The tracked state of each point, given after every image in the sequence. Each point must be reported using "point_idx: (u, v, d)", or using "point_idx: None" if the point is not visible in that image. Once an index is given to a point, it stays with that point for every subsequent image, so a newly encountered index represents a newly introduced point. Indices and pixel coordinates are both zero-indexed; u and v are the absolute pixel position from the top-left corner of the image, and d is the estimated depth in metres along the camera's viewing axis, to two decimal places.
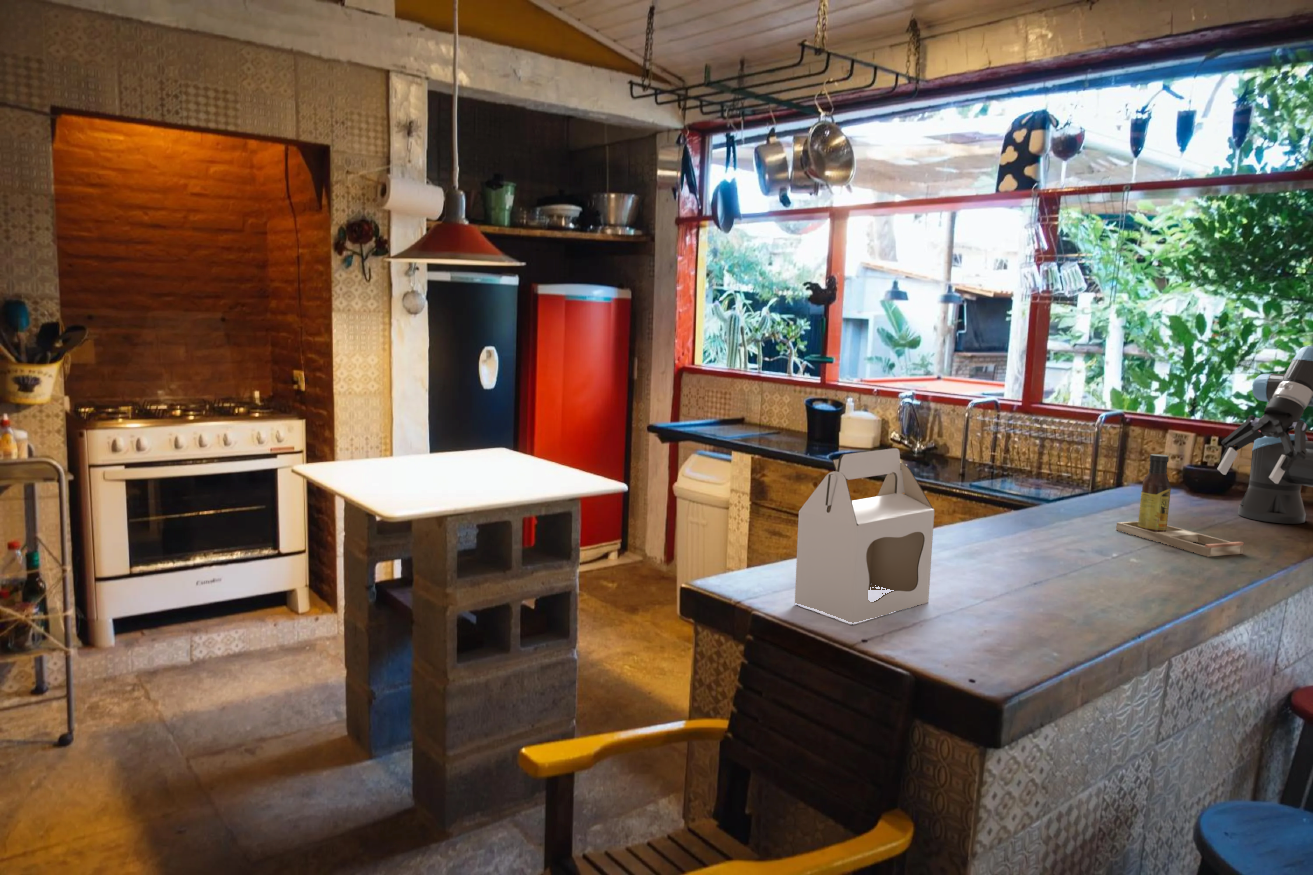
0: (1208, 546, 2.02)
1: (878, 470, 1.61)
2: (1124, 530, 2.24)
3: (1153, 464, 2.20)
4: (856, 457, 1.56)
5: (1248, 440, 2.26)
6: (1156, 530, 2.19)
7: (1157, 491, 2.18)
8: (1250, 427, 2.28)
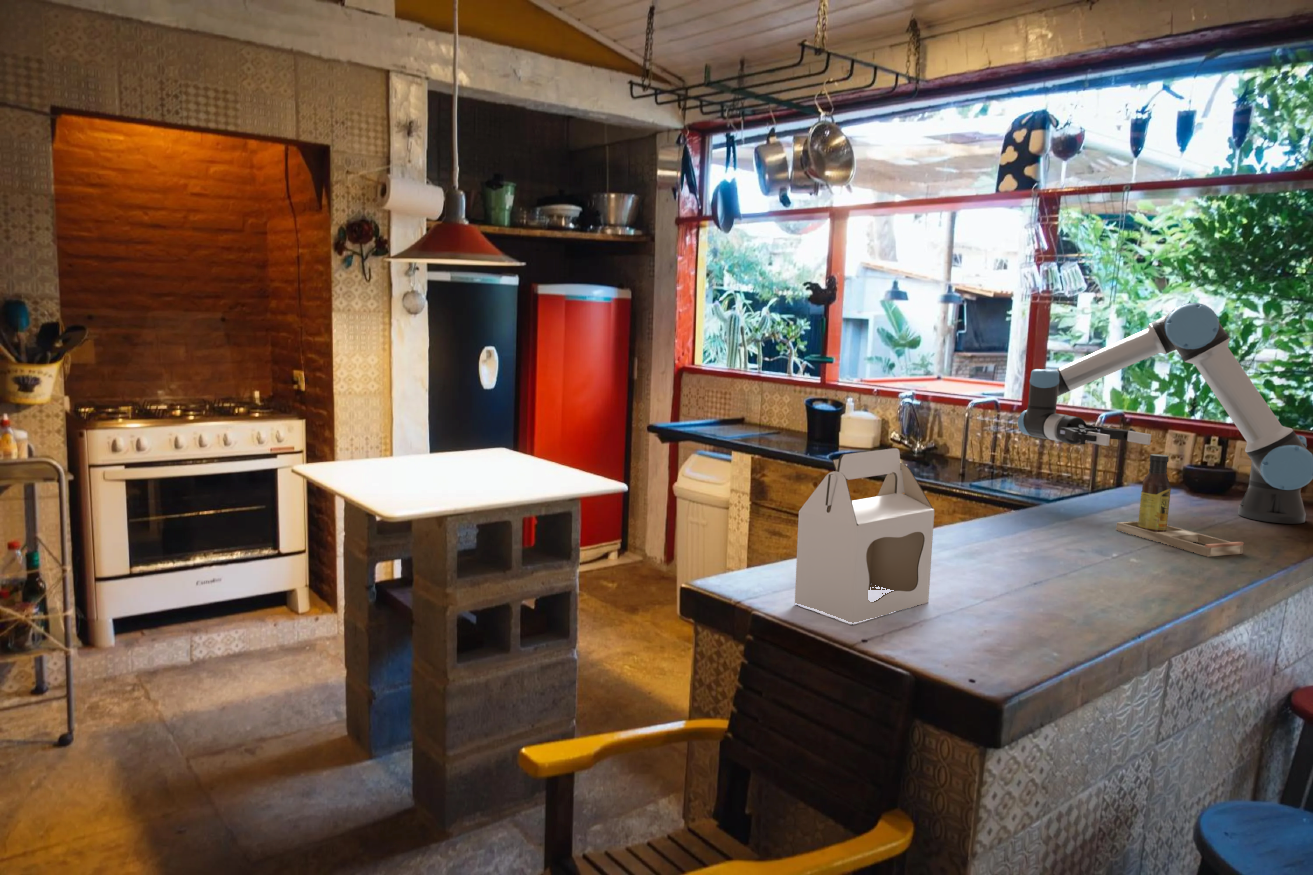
0: (1208, 546, 2.02)
1: (878, 470, 1.61)
2: (1124, 530, 2.24)
3: (1153, 464, 2.20)
4: (856, 457, 1.56)
5: (1112, 433, 2.39)
6: (1156, 530, 2.19)
7: (1157, 491, 2.18)
8: None
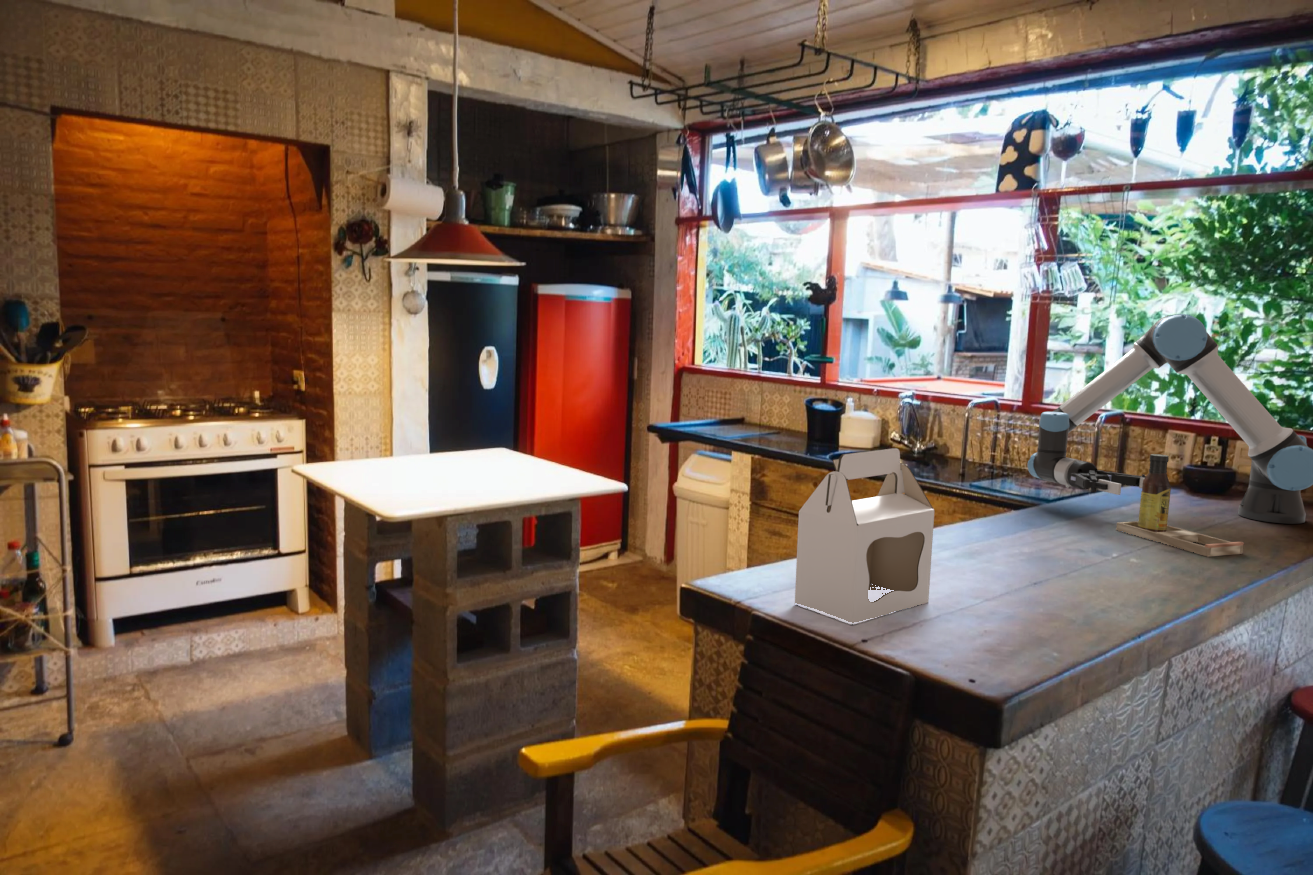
0: (1208, 546, 2.02)
1: (878, 470, 1.61)
2: (1124, 530, 2.24)
3: (1153, 464, 2.20)
4: (856, 457, 1.56)
5: (1123, 479, 2.35)
6: (1156, 530, 2.19)
7: (1157, 491, 2.18)
8: None
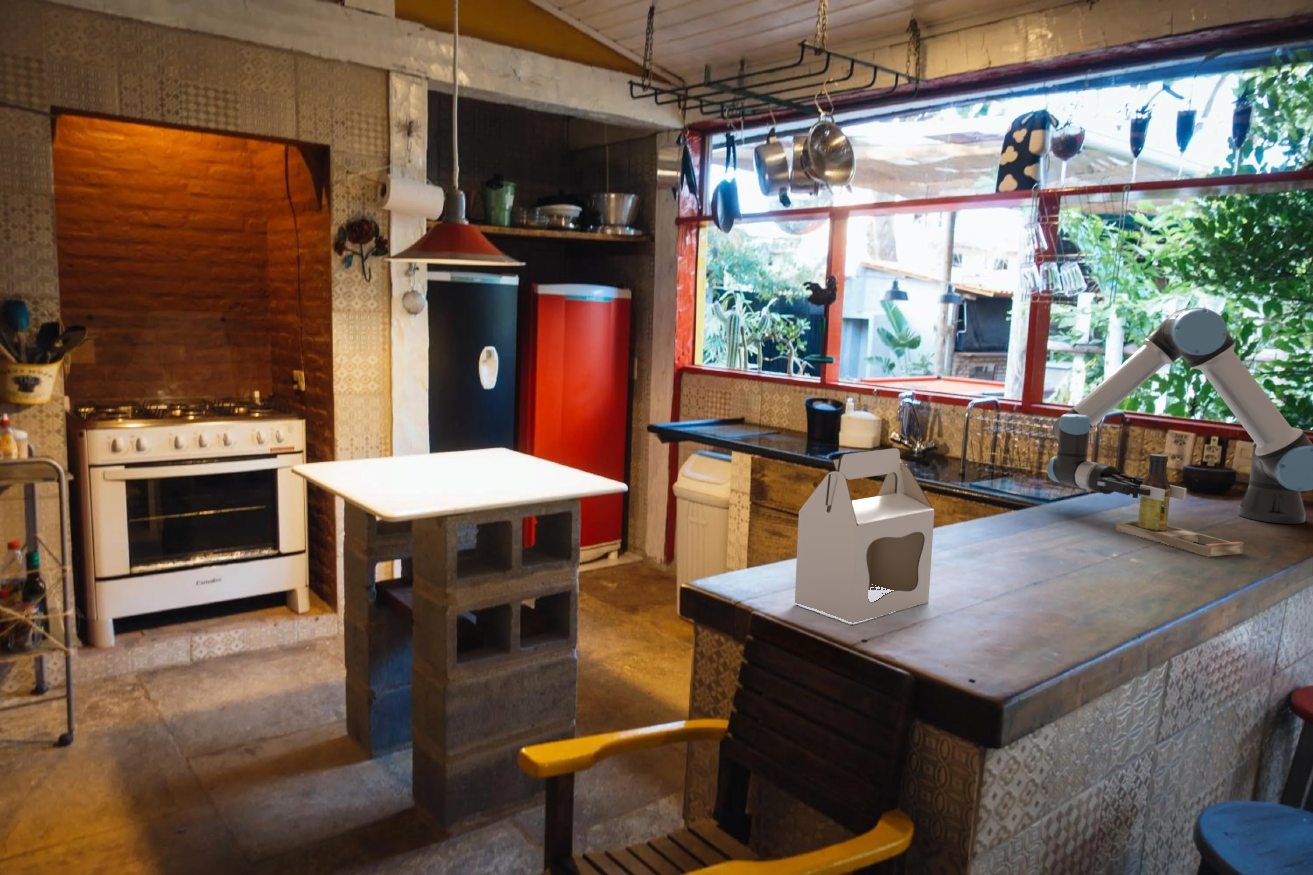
0: (1208, 546, 2.02)
1: (878, 470, 1.61)
2: (1124, 530, 2.24)
3: (1153, 464, 2.19)
4: (856, 457, 1.56)
5: None
6: (1156, 530, 2.19)
7: None
8: None
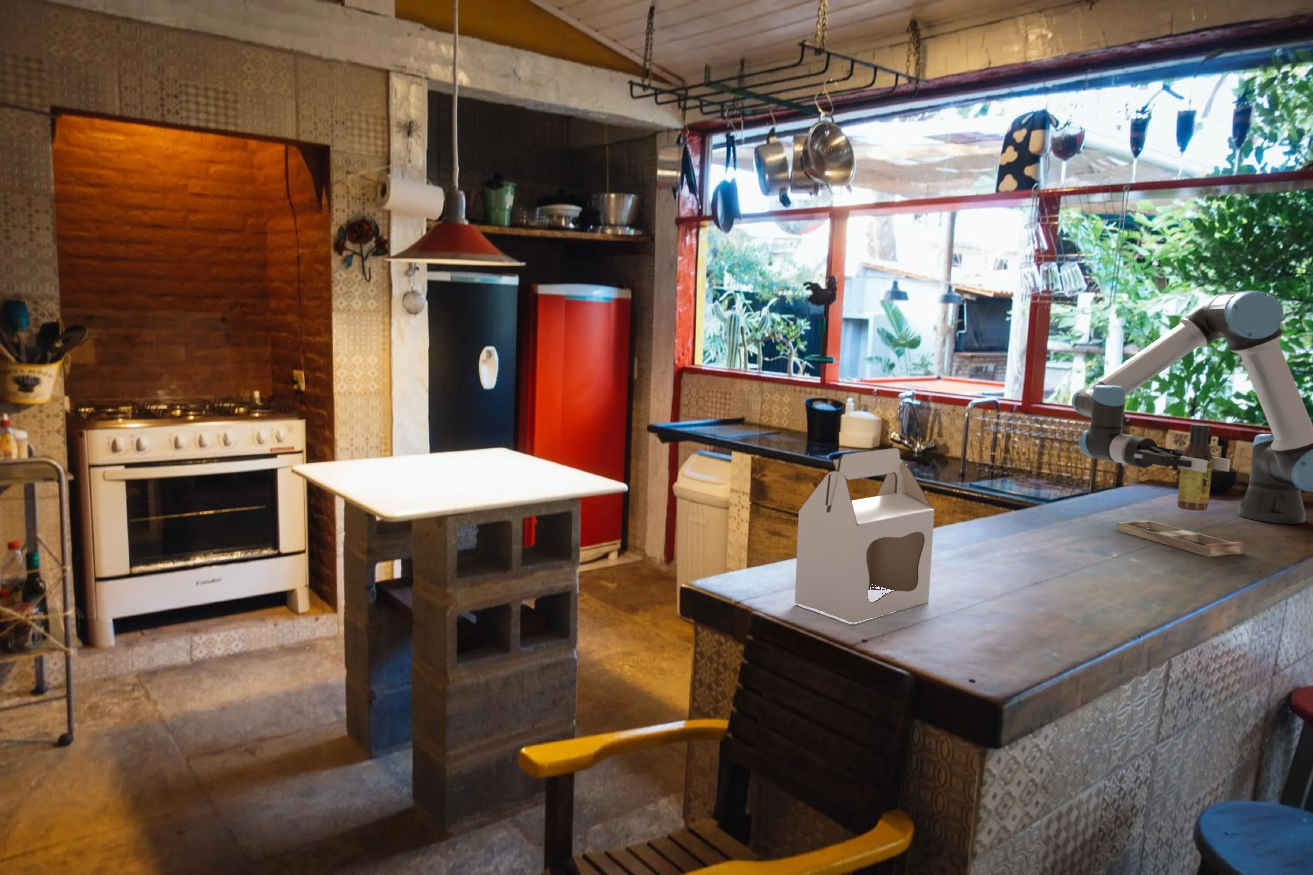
0: (1208, 546, 2.02)
1: (878, 470, 1.61)
2: (1124, 530, 2.24)
3: (1194, 435, 2.08)
4: (856, 457, 1.56)
5: None
6: (1197, 503, 2.07)
7: None
8: None
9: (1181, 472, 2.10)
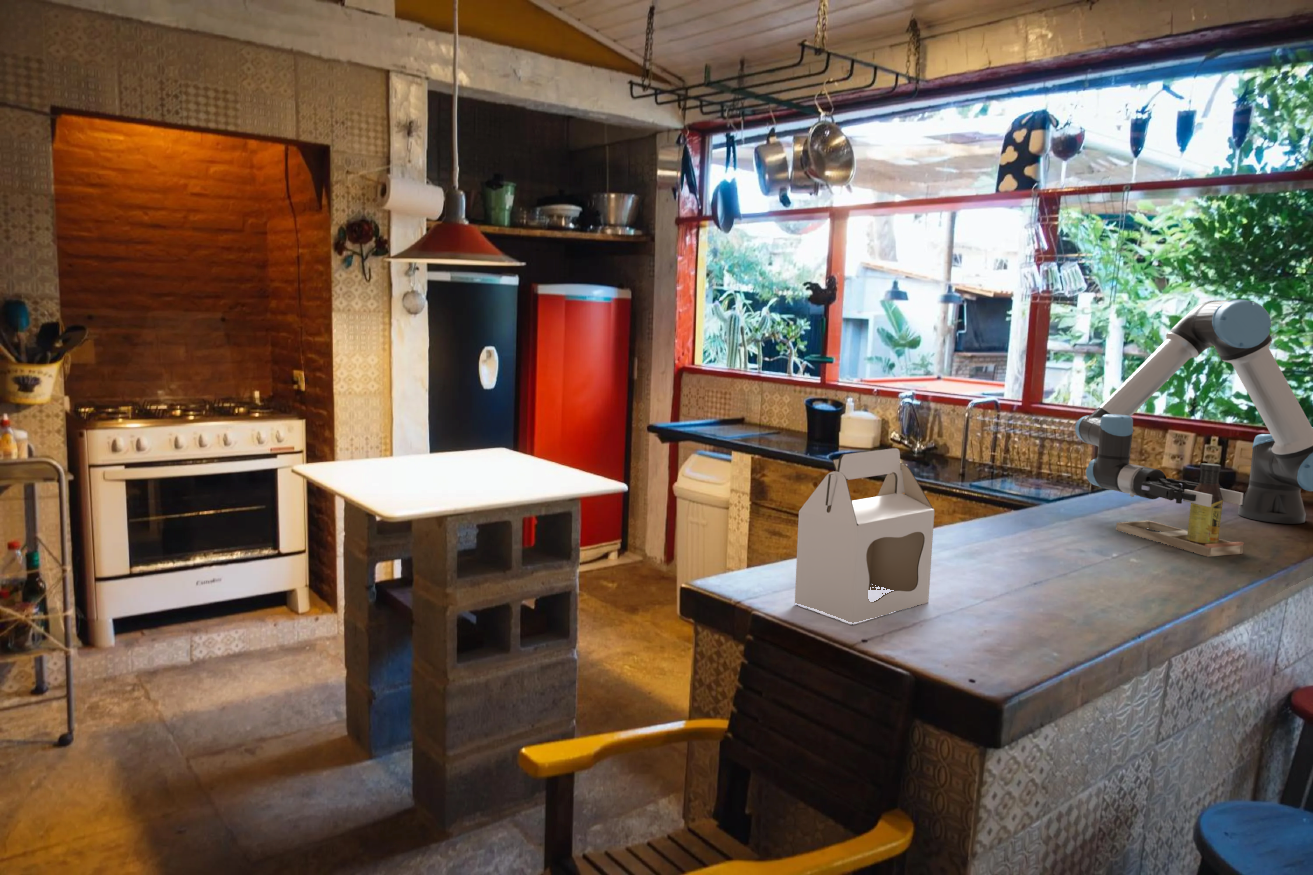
0: (1208, 546, 2.02)
1: (878, 470, 1.61)
2: (1124, 530, 2.24)
3: (1204, 474, 2.07)
4: (856, 457, 1.56)
5: None
6: None
7: None
8: None
9: (1191, 512, 2.09)
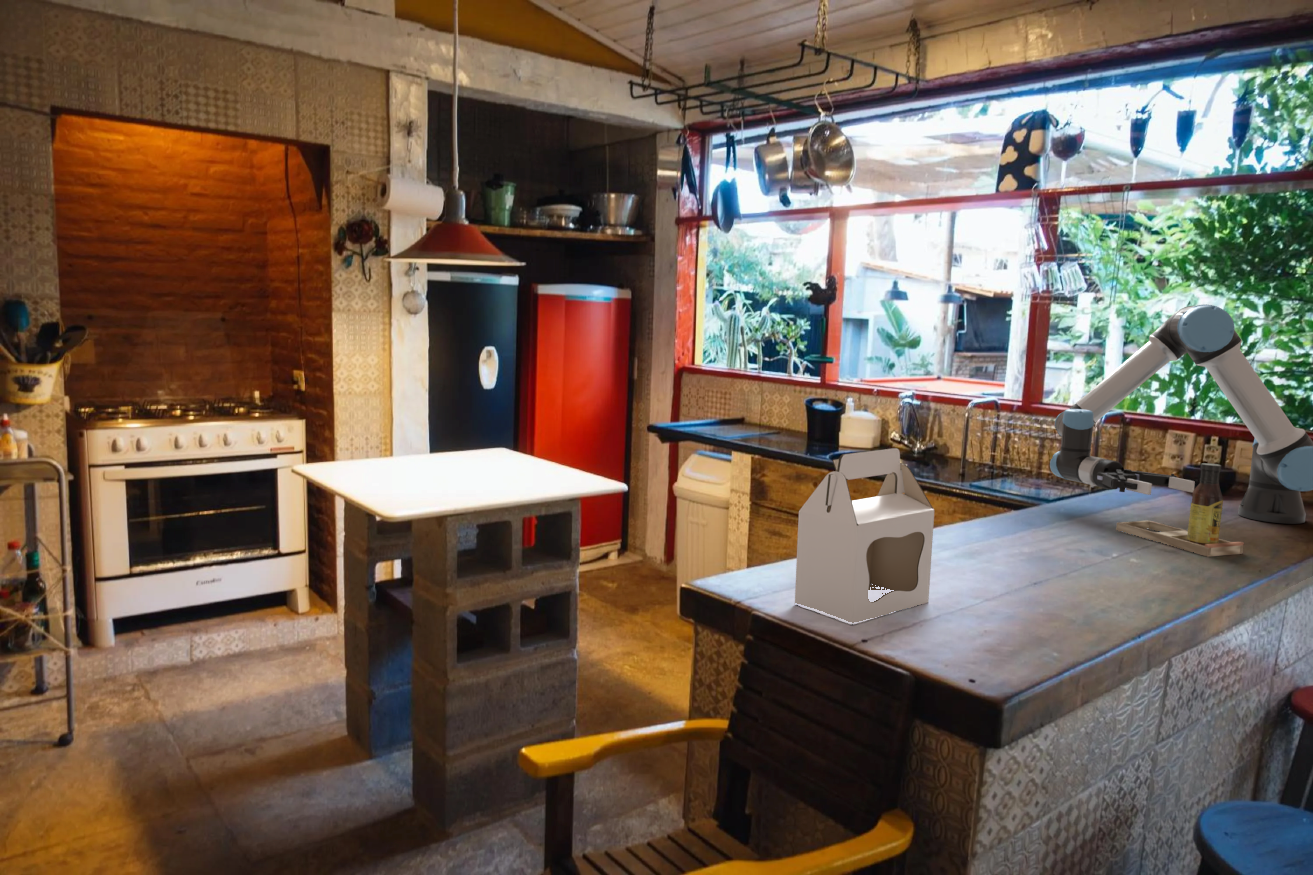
0: (1208, 546, 2.02)
1: (878, 470, 1.61)
2: (1124, 530, 2.24)
3: (1204, 474, 2.06)
4: (856, 457, 1.56)
5: (1152, 479, 2.27)
6: None
7: (1209, 502, 2.05)
8: None
9: (1191, 512, 2.09)
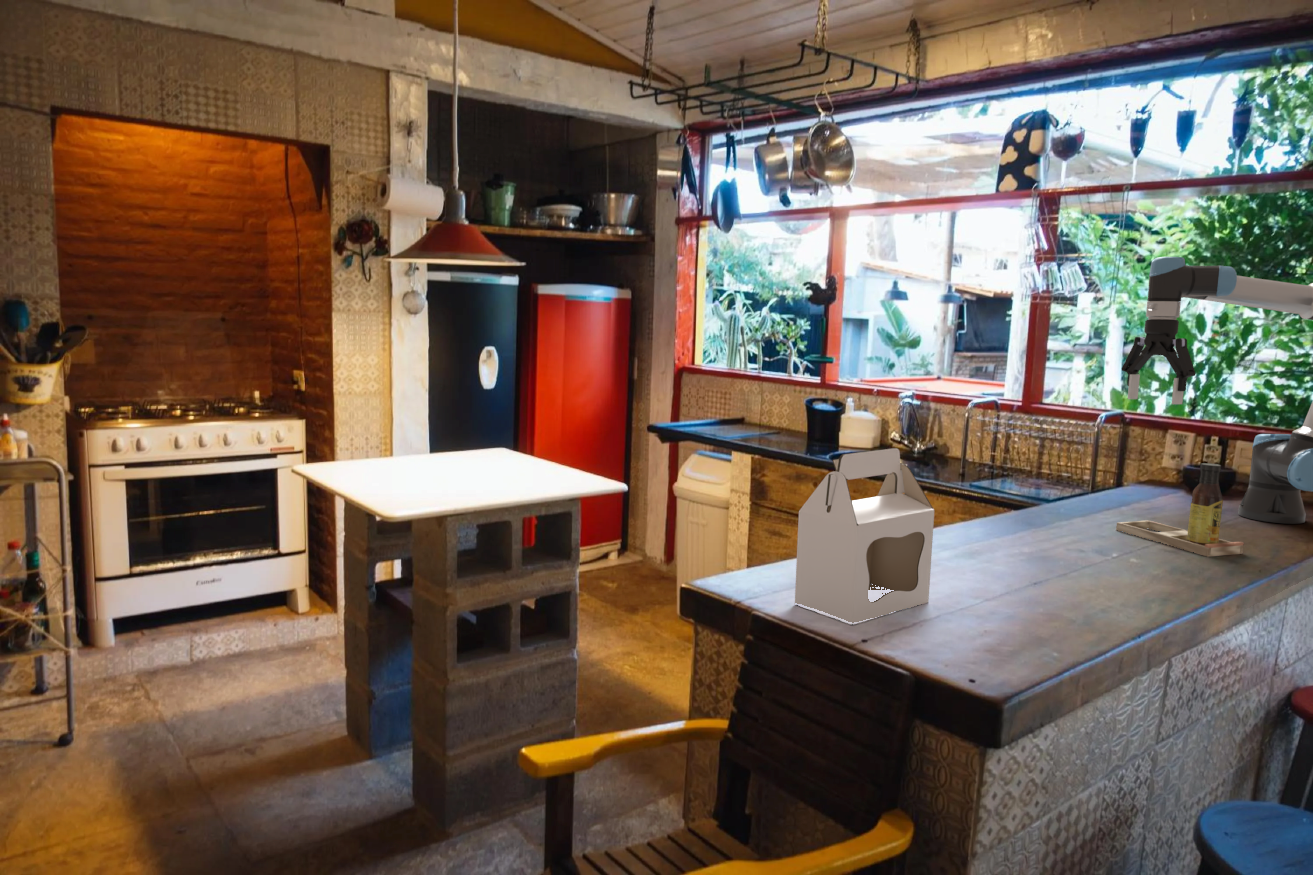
0: (1208, 546, 2.02)
1: (878, 470, 1.61)
2: (1124, 530, 2.24)
3: (1204, 474, 2.06)
4: (856, 457, 1.56)
5: (1143, 362, 2.36)
6: None
7: (1209, 502, 2.05)
8: (1140, 347, 2.36)
9: (1191, 512, 2.09)
